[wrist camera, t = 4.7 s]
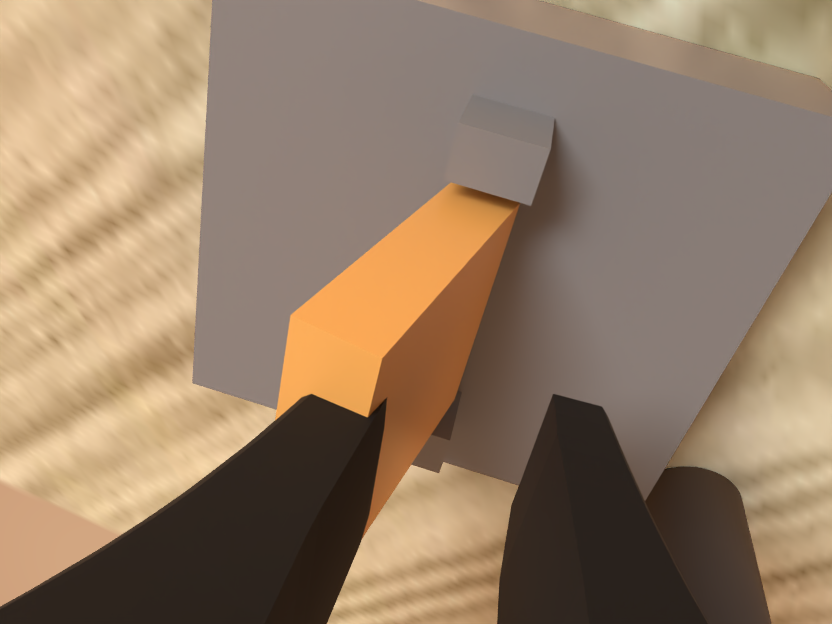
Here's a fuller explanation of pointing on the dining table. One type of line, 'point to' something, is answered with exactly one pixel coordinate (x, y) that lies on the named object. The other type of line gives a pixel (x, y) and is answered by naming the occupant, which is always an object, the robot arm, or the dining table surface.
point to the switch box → (515, 180)
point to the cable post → (710, 543)
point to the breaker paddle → (401, 324)
